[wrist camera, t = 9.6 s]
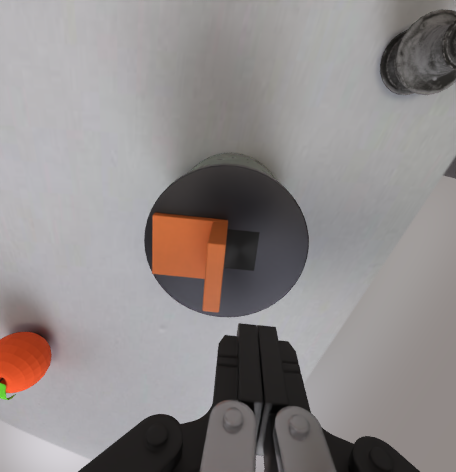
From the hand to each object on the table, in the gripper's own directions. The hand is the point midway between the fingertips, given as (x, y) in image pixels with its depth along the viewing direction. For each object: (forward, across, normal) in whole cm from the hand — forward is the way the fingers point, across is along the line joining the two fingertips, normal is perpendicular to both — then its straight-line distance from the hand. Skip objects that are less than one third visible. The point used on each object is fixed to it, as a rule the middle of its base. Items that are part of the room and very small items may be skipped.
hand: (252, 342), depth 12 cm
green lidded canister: (+21, +2, 0) cm, 21 cm away
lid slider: (+9, +4, 0) cm, 10 cm away
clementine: (+21, +26, +22) cm, 40 cm away
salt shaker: (+22, -13, -15) cm, 30 cm away
